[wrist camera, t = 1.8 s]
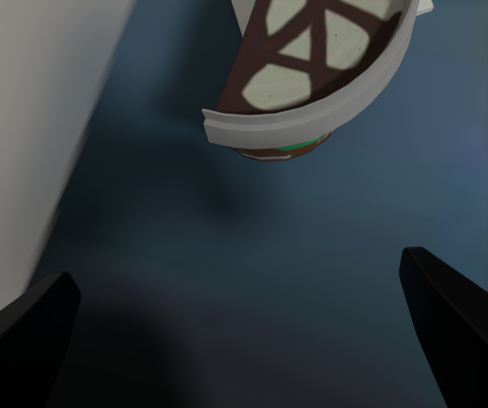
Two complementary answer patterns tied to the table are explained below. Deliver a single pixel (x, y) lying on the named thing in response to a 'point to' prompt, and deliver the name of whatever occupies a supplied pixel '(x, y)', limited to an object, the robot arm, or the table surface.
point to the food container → (307, 72)
